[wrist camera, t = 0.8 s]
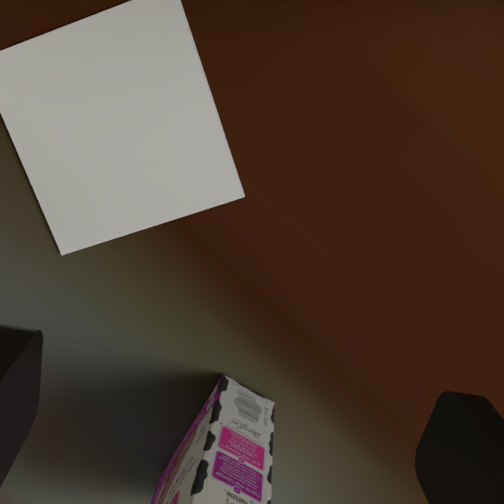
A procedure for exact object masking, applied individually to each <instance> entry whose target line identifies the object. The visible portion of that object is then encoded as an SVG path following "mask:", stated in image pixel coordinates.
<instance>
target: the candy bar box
mask: <svg viewBox="0 0 504 504" xmlns="http://www.w3.org/2000/svg"><path fill="white" fill-rule="evenodd" d="M274 405H275V402H274V401H272V400H270V399H269V398H267V397H265V396H263V395H261V394H259V393H257V392H255V391H253V390H252V389H250V388H248V387H247V386H245V385H243V384H241V383H240V382H238V381H236V380H235V379H232V378H230V377H228V376H227V375H222V377H221V378H220V380H219V381H218V383H217V385H216V386H215V388H214V390H213V392H212V393H211V395H210V396H209V398H208V400H207V401H206V403H205V405H204V406H203V408H202V410H201V411H200V413H199V414H198V416H197V418H196V419H195V421H194V423H193V424H192V426H191V427H190V429H189V431H188V432H187V434H186V435H185V437H184V439H183V440H182V442H181V444H180V445H179V447H178V448H177V450H176V452H175V453H174V455H173V457H172V458H171V460H170V461H169V463H168V465H167V466H166V468H165V470H164V471H163V473H162V474H161V476H160V479H159V481H158V484H157V487H156V490H155V493H154V496H153V498H152V501H151V504H271V475H272V460H273V459H272V453H273V430H274Z"/></svg>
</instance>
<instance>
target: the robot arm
mask: <svg viewBox="0 0 504 504" xmlns="http://www.w3.org/2000/svg"><path fill="white" fill-rule="evenodd" d="M42 346H43V335H42V332H41V330H37V329H30V328H23V327H17V326H10V325H3V324H0V487H1V485H2V483H3V481H4V479H5V478H6V476H7V474H8V472H9V470H10V468H11V466H12V464H13V462H14V461H15V459H16V457H17V455H18V453H19V451H20V449H21V447H22V445H23V444H24V442H25V440H26V438H27V436H28V434H29V432H30V430H31V427H32V425H33V422H34V419H35V416H36V412H37V408H38V403H39V394H40V378H41V362H42ZM415 469H416V475H417V478H418V481H419V483H420V485H421V487H422V490H423V492H424V494H425V496H426V498H427V500H428V502H429V504H504V420H503V418H502V417H501V416H500V414H499V413H498V412H497V411H496V409H495V408H494V407H493V406H492V404H491V403H490V402H489V401H488V400H487V399H486V398H485V397H483V396H478V395H471V394H464V393H458V392H451V391H446V392H444V393H442V394H441V395H440V396H439V398H438V400H437V402H436V404H435V407H434V409H433V412H432V414H431V416H430V419H429V421H428V423H427V426H426V428H425V430H424V433H423V435H422V437H421V440H420V442H419V445H418V447H417V450H416V456H415Z"/></svg>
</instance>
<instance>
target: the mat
mask: <svg viewBox="0 0 504 504" xmlns="http://www.w3.org/2000/svg"><path fill="white" fill-rule="evenodd" d="M0 113H1V115H2V117H3V120H4V122H5V124H6V127H7V129H8V131H9V134H10V136H11V138H12V141H13V143H14V145H15V148H16V150H17V152H18V155H19V157H20V159H21V162H22V164H23V166H24V169H25V171H26V173H27V176H28V178H29V180H30V183H31V185H32V187H33V190H34V192H35V194H36V197H37V199H38V201H39V204H40V206H41V208H42V211H43V213H44V215H45V218H46V220H47V222H48V225H49V227H50V229H51V232H52V234H53V236H54V239H55V241H56V243H57V246H58V248H59V250H60V252H61V255H65V254H68V253H71V252H74V251H77V250H80V249H83V248H87V247H90V246H93V245H96V244H99V243H102V242H105V241H108V240H112V239H115V238H118V237H121V236H124V235H127V234H130V233H133V232H137V231H140V230H143V229H146V228H149V227H152V226H155V225H158V224H162V223H165V222H168V221H171V220H174V219H177V218H180V217H183V216H187V215H190V214H193V213H196V212H199V211H202V210H205V209H208V208H212V207H215V206H218V205H221V204H224V203H227V202H230V201H233V200H237V199H240V198H243V197H245V195H244V192H243V189H242V185H241V182H240V179H239V176H238V173H237V170H236V167H235V164H234V161H233V158H232V155H231V152H230V149H229V146H228V143H227V140H226V137H225V134H224V131H223V128H222V125H221V122H220V119H219V116H218V113H217V110H216V106H215V103H214V100H213V97H212V94H211V91H210V88H209V85H208V82H207V79H206V76H205V73H204V70H203V67H202V64H201V61H200V58H199V55H198V52H197V49H196V46H195V43H194V40H193V37H192V34H191V31H190V27H189V24H188V21H187V18H186V15H185V12H184V9H183V6H182V3H181V0H131V1H129V2H126V3H123V4H121V5H118V6H116V7H113V8H110V9H108V10H105V11H103V12H100V13H97V14H95V15H92V16H90V17H87V18H85V19H82V20H79V21H77V22H74V23H72V24H69V25H66V26H64V27H61V28H59V29H56V30H53V31H51V32H48V33H46V34H43V35H41V36H38V37H35V38H33V39H30V40H28V41H25V42H22V43H20V44H17V45H15V46H12V47H9V48H7V49H4V50H2V51H0Z"/></svg>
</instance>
